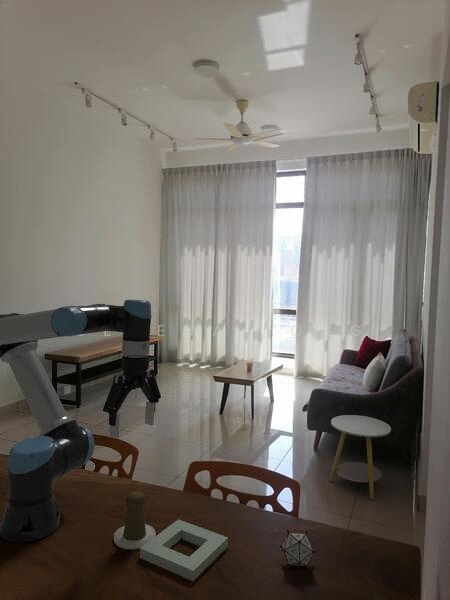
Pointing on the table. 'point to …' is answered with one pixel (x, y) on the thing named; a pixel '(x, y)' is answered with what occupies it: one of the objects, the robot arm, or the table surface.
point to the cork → (135, 517)
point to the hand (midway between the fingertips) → (132, 430)
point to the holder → (178, 562)
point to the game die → (297, 549)
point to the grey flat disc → (133, 545)
